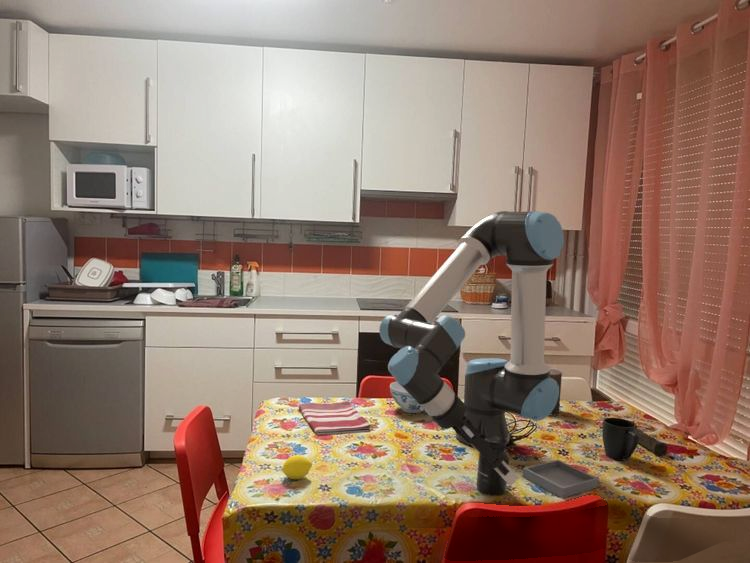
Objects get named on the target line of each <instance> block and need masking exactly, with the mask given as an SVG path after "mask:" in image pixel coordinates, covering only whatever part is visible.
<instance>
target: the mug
mask: <svg viewBox="0 0 750 563" xmlns="http://www.w3.org/2000/svg"><path fill="white" fill-rule="evenodd" d="M636 425H637V424H636V423H635V422H634V421H631V420H628V419H624V418H619V417H605V418H604V419H603V420H602V431H601V432H602V443H603V448H604V451H605V452H604V453H605V456H606V457H607V458H610V459H612V460H615V461H627V460H629V459H630V458H631V457H632V455H633V453H634V452H635V450H636V448H638V445H639V444H640V443H639V435H638V434H637V433H636Z"/></svg>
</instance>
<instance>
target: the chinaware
mask: <svg viewBox="0 0 750 563" xmlns="http://www.w3.org/2000/svg"><path fill="white" fill-rule="evenodd" d="M389 389H390V390H389V391H390V394H391V397H392V399H393V401H394V402H395V404H397V405H398V406H399V407H400V408H401V410H402V411H403V412H406V413H409V414H418V413H421V412H422V411H421V410H420V407H421V406H420V405H419V404H418V403H417V401H416V400H415V399H414V398H413V397H412V396H411V395H410V394H409V393H408V392H407V391H406V390H405V389H404V388H403V387H402V386H401V385H399V384H398V382H397V381H394V382H391V383H390V385H389Z"/></svg>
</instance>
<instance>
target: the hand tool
mask: <svg viewBox="0 0 750 563" xmlns="http://www.w3.org/2000/svg"><path fill="white" fill-rule="evenodd" d="M636 433H637V434H638V435H639V443H638V444H640V445H641V446H643V447H644V448H646V449H647V450H648V451H650V452H652V453H653V455H654V456H655V457H663V456H666V455H667V451H668V445H667V444H666V443H665V442H661V441H660V440H658V439H657V438H655V437H653V436H651V435H648V433H645V432H644V431H642V430H641V429H639V428H638V425H637V424H636Z"/></svg>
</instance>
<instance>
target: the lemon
mask: <svg viewBox="0 0 750 563" xmlns="http://www.w3.org/2000/svg"><path fill="white" fill-rule="evenodd" d="M312 465H313V463H312V462H311V461H310V460H309V458H307V457H305V456H304V455H302V454H301V455H299V454H296V455H294V454H293V455H291V456H290V457H288V458H287V459H286V460H285V462H284V463H283V465H282V468H281V471H282V472H283V474H284V475H285V476H286V477H287V478H288V479H291V480H300V479H303V478H305V477H306V476H307V475H308V474H309V472H310V470H311V468H312Z"/></svg>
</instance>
